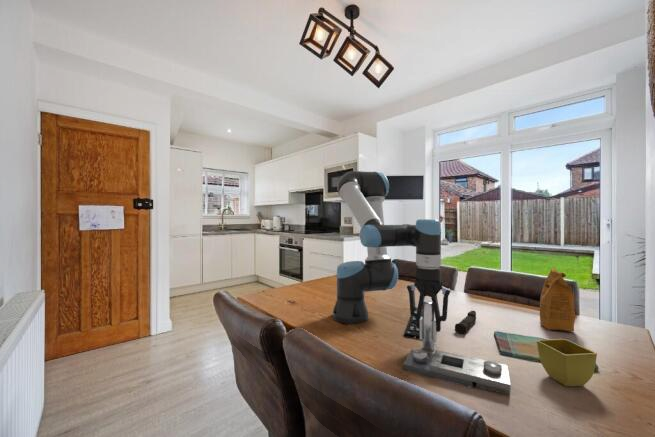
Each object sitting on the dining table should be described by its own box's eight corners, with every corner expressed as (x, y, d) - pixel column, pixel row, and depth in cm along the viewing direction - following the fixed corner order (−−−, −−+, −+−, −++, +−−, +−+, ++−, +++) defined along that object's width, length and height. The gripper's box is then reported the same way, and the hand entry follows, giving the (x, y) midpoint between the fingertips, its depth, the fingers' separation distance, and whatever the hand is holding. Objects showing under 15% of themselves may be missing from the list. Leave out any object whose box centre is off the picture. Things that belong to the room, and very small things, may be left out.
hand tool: (465, 336, 100) (466, 323, 100) (454, 333, 102) (454, 320, 102) (482, 322, 113) (482, 311, 113) (471, 320, 116) (471, 308, 116)
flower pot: (535, 372, 76) (535, 339, 76) (565, 370, 77) (564, 338, 77) (565, 392, 67) (565, 355, 67) (598, 390, 68) (598, 353, 68)
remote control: (403, 338, 99) (403, 332, 99) (414, 310, 128) (414, 306, 128) (426, 341, 96) (426, 336, 96) (431, 312, 125) (431, 308, 125)
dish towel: (600, 375, 76) (600, 365, 76) (500, 357, 85) (500, 349, 85) (576, 348, 91) (576, 340, 91) (493, 335, 101) (493, 328, 101)
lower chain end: (403, 369, 78) (403, 357, 78) (411, 354, 86) (411, 342, 86) (472, 387, 69) (472, 373, 69) (473, 368, 78) (473, 356, 78)
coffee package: (568, 323, 111) (567, 268, 111) (578, 335, 100) (577, 274, 100) (537, 319, 115) (536, 266, 115) (543, 330, 104) (543, 271, 104)
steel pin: (421, 350, 89) (421, 303, 89) (423, 345, 92) (423, 300, 92) (433, 352, 87) (433, 304, 87) (435, 348, 90) (434, 301, 90)
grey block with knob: (429, 376, 74) (429, 359, 74) (435, 359, 83) (435, 344, 83) (510, 397, 65) (510, 378, 65) (507, 376, 74) (507, 359, 74)
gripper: (399, 266, 90) (399, 338, 90) (455, 271, 82) (455, 350, 82) (405, 263, 97) (405, 330, 97) (457, 267, 89) (457, 340, 89)
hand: (428, 339), depth 90 cm, fingers closed on steel pin, 3 cm apart
